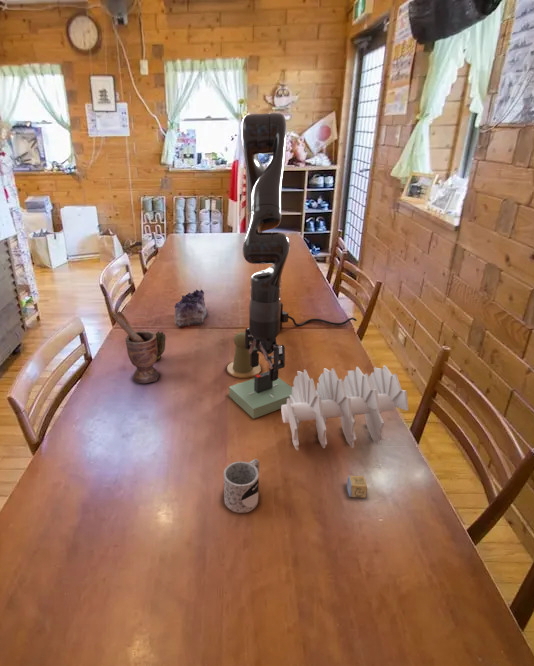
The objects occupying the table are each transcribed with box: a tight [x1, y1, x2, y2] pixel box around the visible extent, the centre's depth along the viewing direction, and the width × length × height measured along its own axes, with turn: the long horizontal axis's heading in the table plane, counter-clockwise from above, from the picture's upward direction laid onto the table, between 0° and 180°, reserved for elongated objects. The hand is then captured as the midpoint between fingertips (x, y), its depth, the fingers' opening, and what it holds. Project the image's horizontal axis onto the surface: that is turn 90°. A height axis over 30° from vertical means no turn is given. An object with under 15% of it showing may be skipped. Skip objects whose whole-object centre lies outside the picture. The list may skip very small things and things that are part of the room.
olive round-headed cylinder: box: [232, 331, 253, 373], centre depth 132 cm, size 6×6×11 cm
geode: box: [174, 289, 208, 328], centre depth 168 cm, size 20×12×10 cm, turn 174°
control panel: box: [228, 376, 293, 420], centre depth 120 cm, size 14×12×3 cm
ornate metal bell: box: [155, 331, 167, 362], centre depth 140 cm, size 8×7×8 cm
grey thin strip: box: [223, 458, 260, 514], centre depth 89 cm, size 10×7×7 cm
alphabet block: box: [346, 475, 368, 498], centre depth 89 cm, size 3×3×3 cm
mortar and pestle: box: [112, 310, 160, 384], centre depth 127 cm, size 12×9×20 cm
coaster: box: [226, 360, 262, 379], centre depth 135 cm, size 10×10×1 cm
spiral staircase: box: [280, 364, 409, 451], centre depth 102 cm, size 18×18×25 cm
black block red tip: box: [253, 370, 273, 393], centre depth 118 cm, size 5×2×5 cm, turn 120°
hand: (263, 373), depth 117 cm, fingers open, 8 cm apart
